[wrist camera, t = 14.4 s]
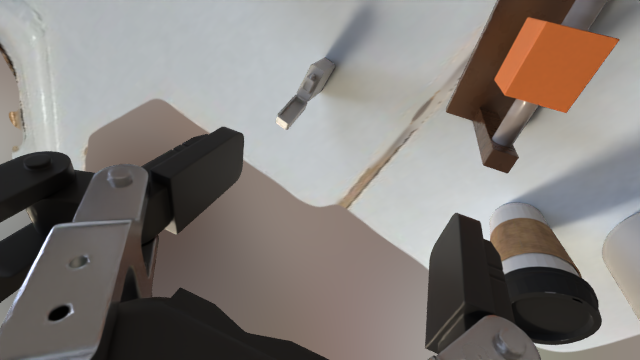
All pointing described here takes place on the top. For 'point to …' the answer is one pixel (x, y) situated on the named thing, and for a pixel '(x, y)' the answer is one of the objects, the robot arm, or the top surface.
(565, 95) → the clip
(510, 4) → the handle stand
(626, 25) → the top surface
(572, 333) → the coffee cup
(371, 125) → the top surface
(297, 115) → the lighter
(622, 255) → the cylinder vase
